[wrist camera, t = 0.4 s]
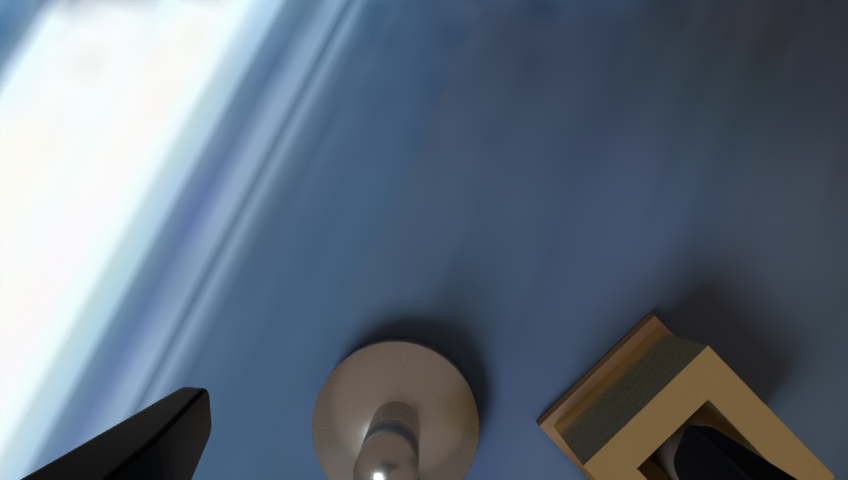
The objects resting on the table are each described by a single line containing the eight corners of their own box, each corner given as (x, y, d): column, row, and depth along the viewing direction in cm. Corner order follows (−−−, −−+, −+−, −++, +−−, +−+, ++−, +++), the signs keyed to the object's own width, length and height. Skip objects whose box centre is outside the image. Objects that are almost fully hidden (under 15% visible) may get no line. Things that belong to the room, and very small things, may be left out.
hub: (508, 420, 21) (539, 482, 15) (393, 530, 21) (378, 636, 15) (401, 304, 22) (391, 320, 16) (288, 411, 21) (233, 468, 15)
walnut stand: (760, 430, 21) (863, 482, 16) (647, 541, 21) (715, 629, 16) (648, 313, 21) (714, 329, 16) (536, 421, 21) (568, 470, 16)
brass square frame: (755, 435, 20) (835, 477, 16) (653, 534, 20) (708, 601, 16) (654, 329, 21) (708, 345, 17) (553, 426, 21) (583, 466, 17)
